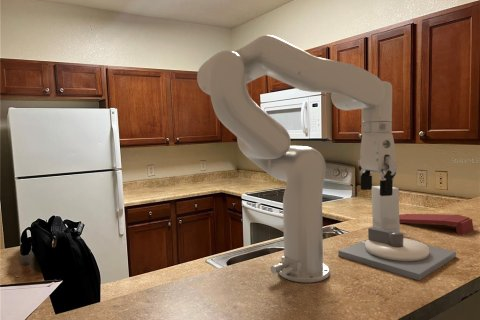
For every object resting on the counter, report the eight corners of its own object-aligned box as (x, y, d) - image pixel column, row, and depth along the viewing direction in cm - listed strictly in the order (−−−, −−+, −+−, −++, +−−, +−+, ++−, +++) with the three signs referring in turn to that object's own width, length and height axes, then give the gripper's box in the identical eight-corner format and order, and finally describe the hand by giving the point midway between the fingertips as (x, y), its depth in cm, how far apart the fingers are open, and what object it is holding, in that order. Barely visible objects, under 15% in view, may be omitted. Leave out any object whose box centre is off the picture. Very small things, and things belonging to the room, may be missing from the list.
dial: (439, 250, 93) (439, 233, 93) (412, 266, 83) (412, 247, 83) (383, 237, 106) (383, 222, 105) (353, 250, 96) (353, 233, 95)
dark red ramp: (389, 231, 131) (461, 236, 111) (387, 218, 131) (458, 220, 111) (405, 225, 138) (475, 229, 118) (403, 213, 138) (473, 214, 118)
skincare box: (400, 234, 114) (400, 188, 112) (380, 235, 114) (380, 189, 113) (389, 227, 122) (389, 184, 121) (370, 228, 122) (370, 185, 121)
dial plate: (419, 280, 79) (419, 273, 79) (338, 255, 96) (338, 249, 96) (455, 256, 93) (455, 250, 93) (379, 238, 110) (379, 233, 110)
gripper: (410, 128, 83) (408, 197, 85) (371, 129, 100) (371, 187, 102) (381, 128, 82) (380, 199, 83) (347, 129, 99) (347, 188, 100)
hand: (375, 192), depth 92 cm, fingers open, 9 cm apart
